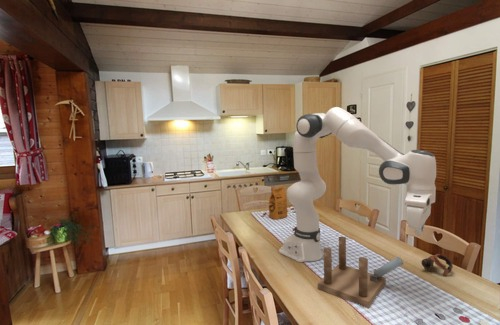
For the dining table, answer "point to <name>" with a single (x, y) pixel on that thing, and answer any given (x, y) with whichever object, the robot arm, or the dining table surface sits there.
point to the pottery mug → (437, 263)
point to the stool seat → (350, 278)
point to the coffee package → (278, 204)
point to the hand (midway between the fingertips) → (419, 233)
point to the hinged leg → (388, 267)
